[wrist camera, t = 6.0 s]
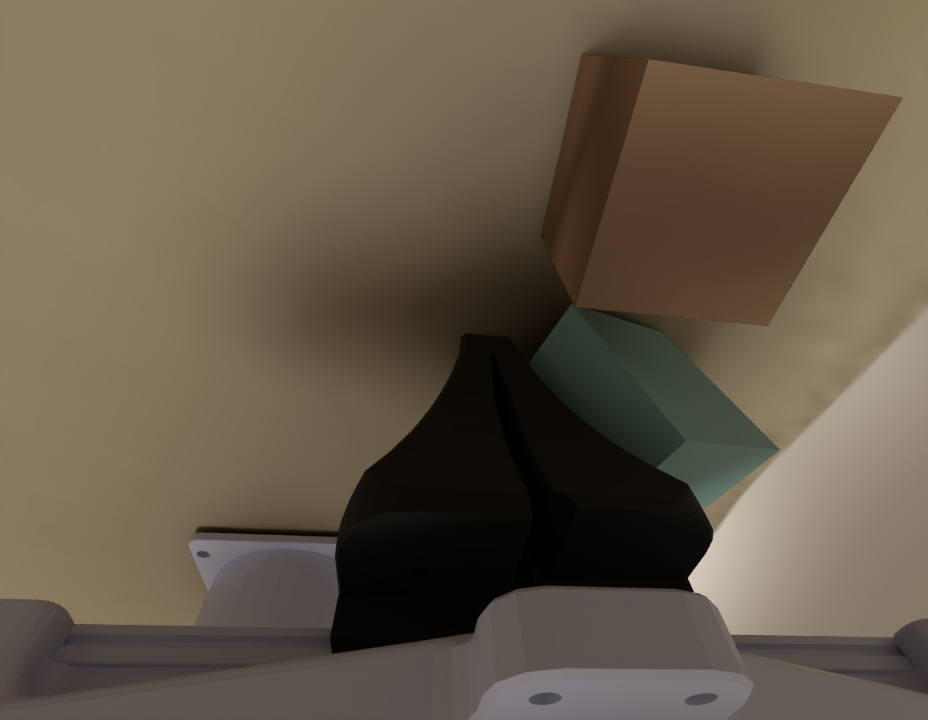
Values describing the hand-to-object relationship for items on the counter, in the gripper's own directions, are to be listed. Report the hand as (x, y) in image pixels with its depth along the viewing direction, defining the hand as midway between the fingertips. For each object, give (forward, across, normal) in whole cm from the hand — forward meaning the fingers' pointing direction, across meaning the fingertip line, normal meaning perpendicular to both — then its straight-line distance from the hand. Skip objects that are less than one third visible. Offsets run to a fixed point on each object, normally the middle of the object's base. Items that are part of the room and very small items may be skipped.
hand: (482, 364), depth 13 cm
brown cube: (+1, -3, -6) cm, 6 cm away
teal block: (0, -3, +1) cm, 3 cm away
